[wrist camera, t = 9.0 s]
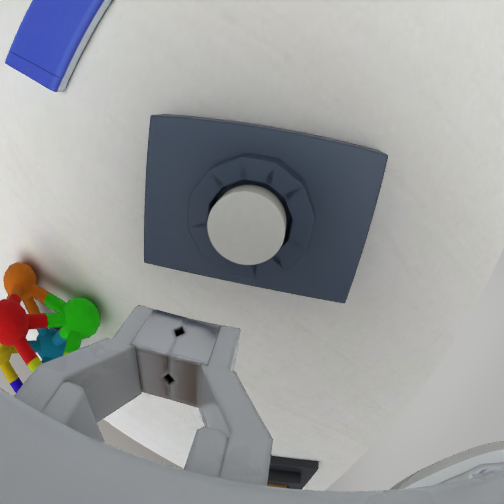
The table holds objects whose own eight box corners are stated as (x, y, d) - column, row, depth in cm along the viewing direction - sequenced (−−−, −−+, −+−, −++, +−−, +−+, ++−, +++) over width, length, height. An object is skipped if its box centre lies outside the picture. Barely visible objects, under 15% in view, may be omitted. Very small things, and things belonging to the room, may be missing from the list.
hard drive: (70, -64, 11) (2, 62, 16) (137, -54, 12) (53, 92, 17) (81, -58, 12) (14, 62, 18) (147, -46, 13) (65, 91, 19)
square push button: (318, 461, 33) (318, 480, 31) (298, 487, 38) (297, 503, 35) (241, 450, 34) (237, 470, 31) (233, 478, 38) (230, 494, 36)
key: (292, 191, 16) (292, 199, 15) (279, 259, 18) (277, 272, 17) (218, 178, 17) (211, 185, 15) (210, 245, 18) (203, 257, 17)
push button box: (379, 150, 18) (398, 160, 14) (341, 287, 22) (348, 320, 19) (164, 114, 19) (136, 116, 15) (156, 249, 23) (132, 275, 20)
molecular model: (9, 249, 26) (-45, 280, 13) (104, 285, 32) (109, 340, 19) (-10, 365, 26) (-44, 441, 13) (76, 395, 32) (79, 481, 18)
